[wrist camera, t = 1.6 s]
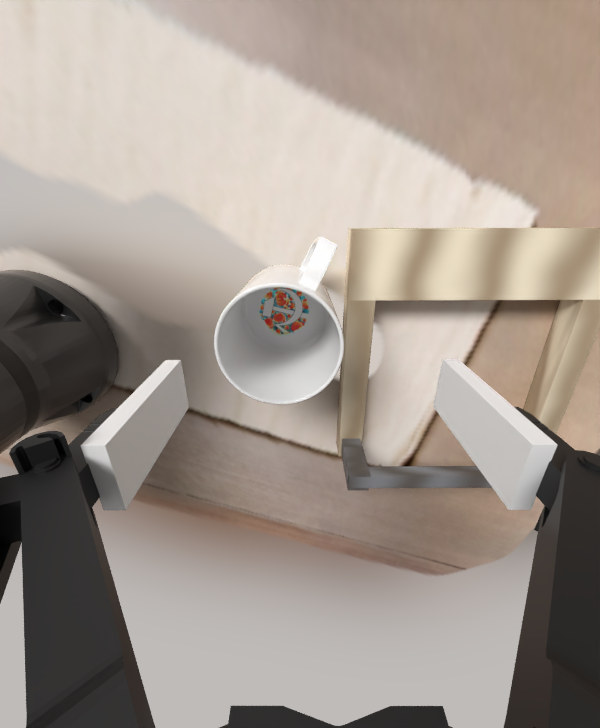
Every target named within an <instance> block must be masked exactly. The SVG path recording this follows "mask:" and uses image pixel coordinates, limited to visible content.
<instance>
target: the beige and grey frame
mask: <svg viewBox="0 0 600 728" xmlns="http://www.w3.org/2000/svg"><path fill="white" fill-rule="evenodd" d="M376 300H560V303H559V306H558V309H557V312H556V315H555V318H554V321H553V324H552V327H551V329H550V332H549V335H548V338H547V341H546V344H545V347H544V350H543V353H542V356H541V359H540V362H539V365H538V368H537V370H536V373H535V376H534V379H533V382H532V385H531V388H530V391H529V394H528V397H527V400H526V403H525V406H524V409H523V410H525V411H527V412H529V413H530V414H532V415H533V416H534V417H536V418H537V419H538V420H539V421H540V422H541V423H543V424H544V425H545V426H546V427H548V428H549V430H551V431H553V432H554V433H555V434H556V433H557V431H558V428H559V426H560V423H561V421H562V419H563V416H564V414H565V411H566V409H567V406H568V404H569V401H570V399H571V396H572V394H573V392H574V389H575V387H576V384H577V382H578V379H579V377H580V374H581V372H582V370H583V367H584V365H585V362H586V360H587V357H588V355H589V352H590V350H591V347H592V345H593V343H594V340H595V338H596V335H597V333H598V330H599V328H600V228H361V229H348V244H347V262H346V280H345V298H344V316H343V338H344V354H343V359H342V362H341V370H340V371H341V372H340V388H339V406H338V424H337V442H336V443H337V448H338V454H339V456H342V460H343V465H344V471H345V476H346V482H347V487H348V490H368V489H369V488H492V486H491V485H490V484H489V482H488V481H487V480H486V478H485V477H484V475H483V474H482V473H481V471H480V470H479V469H478V467H477V466H410V467H368V465H367V462H366V458H365V454H364V451H363V447H362V436H363V426H364V415H365V405H366V395H367V384H368V374H369V363H370V353H371V343H372V332H373V322H374V312H375V302H376Z"/></svg>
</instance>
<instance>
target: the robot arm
mask: <svg viewBox="0 0 600 728" xmlns="http://www.w3.org/2000/svg"><path fill="white" fill-rule="evenodd" d="M117 369H118V353H117V348H116V344H115V341H114V338H113V335H112V333H111V331H110V329H109V327H108V325H107V324H106V322H105V320H104V319H103V318H102V316H101V315H100V313H99V312H98V311H97V310H96V309H95V308H94V306H93V305H92V304H91V303H90V302H89V301H88V300H86V299H85V298H84V297H83V296H82V295H81V294H79V293H78V292H77V291H75V290H74V289H72V288H71V287H69V286H67V285H66V284H64V283H62V282H60V281H58V280H56V279H54V278H51V277H49V276H46V275H43V274H40V273H36V272H31V271H24V270H8V271H1V272H0V453H2V452H3V451H4V450H6V449H7V448H8V447H9V446H11V445H12V444H13V443H14V442H16V441H17V440H18V439H19V438H21V437H22V436H23V435H25V434H26V433H28V432H29V431H31V430H34V429H36V428H39V427H42V426H45V425H47V424H50V423H53V422H56V421H59V420H61V419H64V418H67V417H70V416H72V415H75V414H78V413H80V412H82V411H84V410H85V409H87V408H89V407H90V406H91V405H93V404H94V403H95V402H96V401H97V400H98V399H100V398H101V397H102V396H103V395H104V394H105V393H106V392H107V391H108V390H109V389H110V387H111V386H112V384H113V382H114V380H115V377H116V374H117ZM433 407H434V408H435V409H436V411H437V412H438V414H439V415H440V416H441V418H442V419H443V420H444V422H445V423H446V425H447V426H448V427H449V429H450V430H451V431H452V433H453V434H454V436H455V437H456V438H457V440H458V441H459V442H460V444H461V445H462V447H463V448H464V449H465V451H466V452H467V453H468V455H469V456H470V458H471V459H472V460H473V462H474V463H475V464H476V466H477V467H478V469H479V470H480V471H481V473H482V474H483V475H484V477H485V478H486V480H487V481H488V482H489V484H490V485H491V486H492V488H493V489H494V491H495V492H496V493H497V495H498V496H499V497H500V499H501V500H502V502H503V503H504V504H505V506H506V507H507V509H508V510H531V508H532V506H533V503H534V501H535V498H536V496H537V497H538V498H539V499H540V501H541V502H542V503H543V504H544V505H545V506H544V509H543V511H542V513H541V515H540V518H539V520H538V522H537V525H536V527H535V529H534V530H536V531H538V535H537V541H536V547H535V553H534V559H533V564H532V571H531V576H530V582H529V588H528V593H527V599H526V605H525V611H524V616H523V622H522V628H521V634H520V640H519V645H518V651H517V657H516V663H515V668H514V674H513V680H512V686H511V692H510V698H509V704H508V709H507V715H506V720H505V725H504V728H600V456H599V455H596V454H594V453H590V452H586V451H578V450H574V449H573V448H572V447H571V446H570V445H568V444H567V443H566V442H565V441H563V440H562V439H561V438H560V437H559V436H557V435H556V434H555V433H554V432H553V431H551V430H549V428H548V427H546V426H545V425H544V424H543V423H541V422H540V421H539V420H538V419H537V418H536V417H534V416H533V415H532V414H530V413H529V412H527V411H525V410H523V409H521V408H519V407H513V406H512V405H511V404H510V403H509V402H507V401H506V400H505V399H504V398H503V397H502V396H500V395H499V394H498V393H497V392H496V391H495V390H493V389H492V388H491V387H490V386H489V385H488V384H486V383H485V382H484V381H483V380H482V379H481V378H479V377H478V376H477V375H476V374H475V373H474V372H472V371H471V370H470V369H469V368H468V367H467V366H465V365H464V364H463V363H462V362H461V361H460V360H458V359H443V360H442V365H441V370H440V375H439V380H438V385H437V390H436V395H435V400H434V405H433ZM188 408H189V403H188V398H187V392H186V386H185V381H184V375H183V369H182V364H181V360H165V361H164V362H163V363H162V364H161V365H160V366H159V367H158V368H157V369H156V370H155V371H154V372H153V373H152V374H151V375H150V376H149V377H148V378H147V379H146V380H145V381H144V382H143V383H142V384H141V385H140V386H139V387H138V388H137V389H136V390H135V391H134V392H133V393H132V394H131V395H130V396H129V397H128V398H127V399H126V400H125V401H124V402H123V403H122V404H121V405H120V406H119V407H118V408H117V409H110V410H109V411H107V412H105V413H103V414H102V415H100V416H99V417H98V418H97V419H95V420H94V421H93V422H92V423H91V425H89V426H88V427H87V428H86V429H85V430H84V432H82V433H81V434H80V435H79V436H78V437H77V438H75V439H74V440H73V441H72V442H71V443H70V444H69V445H68V444H67V441H66V438H65V436H64V435H63V433H62V432H58V431H48V432H43V433H39V434H35V435H33V436H30V437H28V438H26V439H24V440H22V441H21V442H19V443H17V444H16V445H15V446H14V447H13V448H12V449H11V451H10V453H9V454H10V456H11V458H12V460H13V463H14V465H15V467H16V469H17V471H18V473H19V474H17V475H12V476H7V477H2V478H0V603H1V600H2V597H3V594H4V591H5V588H6V585H7V582H8V580H9V577H10V574H11V571H12V568H13V565H14V562H15V559H16V556H17V554H18V551H19V548H20V545H21V542H22V567H23V599H24V637H25V670H26V671H25V672H26V707H27V725H26V728H155V725H154V722H153V718H152V715H151V711H150V708H149V704H148V701H147V697H146V694H145V690H144V687H143V684H142V680H141V676H140V673H139V669H138V666H137V662H136V658H135V655H134V651H133V648H132V644H131V641H130V637H129V634H128V630H127V627H126V624H125V620H124V617H123V613H122V609H121V606H120V602H119V599H118V595H117V591H116V588H115V584H114V581H113V577H112V574H111V570H110V567H109V563H108V560H107V556H106V553H105V549H104V546H103V542H102V539H101V535H100V532H99V528H98V525H97V521H96V518H95V514H94V511H93V509H92V507H93V505H94V504H95V503H96V501H97V500H98V498H100V501H101V503H102V506H103V509H104V510H126V509H127V508H128V506H129V504H130V503H131V501H132V500H133V498H134V496H135V495H136V493H137V491H138V490H139V488H140V486H141V485H142V483H143V482H144V480H145V478H146V477H147V475H148V473H149V472H150V470H151V468H152V467H153V465H154V464H155V462H156V460H157V459H158V457H159V455H160V454H161V452H162V451H163V449H164V447H165V446H166V444H167V442H168V441H169V439H170V437H171V436H172V434H173V433H174V431H175V429H176V428H177V426H178V424H179V423H180V421H181V419H182V418H183V416H184V415H185V413H186V411H187V410H188ZM220 728H452V727H450V726H448V722H447V719H446V716H445V712H444V709H443V706H390V707H387V708H385V709H382V710H380V711H377V712H375V713H372V714H370V715H368V716H365V717H363V718H360V719H358V720H355V721H353V722H350V723H348V724H345V725H342V726H334V725H331V724H328V723H326V722H323V721H320V720H318V719H315V718H313V717H310V716H307V715H305V714H302V713H300V712H297V711H295V710H292V709H289V708H287V707H284V706H231V709H230V716H229V723H228V724H227V725H225V726H222V727H220Z"/></svg>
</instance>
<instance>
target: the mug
mask: <svg viewBox="0 0 600 728" xmlns="http://www.w3.org/2000/svg"><path fill="white" fill-rule="evenodd" d="M337 247H338V245H336V244H335V243H333V242H331V241H329V240H327V239H325V238H323V237H316V238H315V240H314V241H313V243H312V245H311V247H310V249H309V251H308V253H307V255H306V257H305V259H304V260H303V262H302V264H301V266H300V267H299V266H295V265H289V264H281V265H274V266H271V267H268V268H265V269H263V270H262V271H260V272H259V273H257V274H256V275H255V276H253V277H252V278H251V279H250V281H249V282H248V283H247V284H246V285H245V286H244V287H243V288H242V289H241V291H240V292H239V293H238V294H237V295H236V296H235V297H234V298H233V300H232V301H231V302H230V303H229V304H228V305H227V307H226V308H225V309H224V311H223V312H222V314H221V316H220V318H219V320H218V322H217V325H216V329H215V335H214V349H215V355H216V359H217V362H218V364H219V367H220V369H221V371H222V372H223V374H224V375H225V377H226V378H227V379H228V381H229V382H230V383H231V384H232V385H233V386H234V387H235V388H236V389H238V390H239V391H240V392H242V393H243V394H245V395H246V396H248V397H250V398H252V399H255V400H257V401H260V402H264V403H269V404H277V405H285V404H293V403H298V402H301V401H304V400H307V399H309V398H311V397H313V396H315V395H316V394H318V393H319V392H321V391H322V390H323V389H324V388H326V387H327V386H328V385H329V383H330V382H331V381H332V380H333V378H334V377H335V375H336V374H337V372H338V370H339V368H340V365H341V362H342V359H343V354H344V338H343V332H342V328H341V326H340V323H339V320H338V318H337V315H336V313H335V310H334V307H333V305H332V302H331V299H330V297H329V294H328V292H327V290H326V288H325V286H324V285H323V283H322V282H321V280H322V278H323V276H324V274H325V272H326V270H327V268H328V266H329V264H330V261H331V259H332V257H333V255H334V253H335V251H336V249H337Z"/></svg>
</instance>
